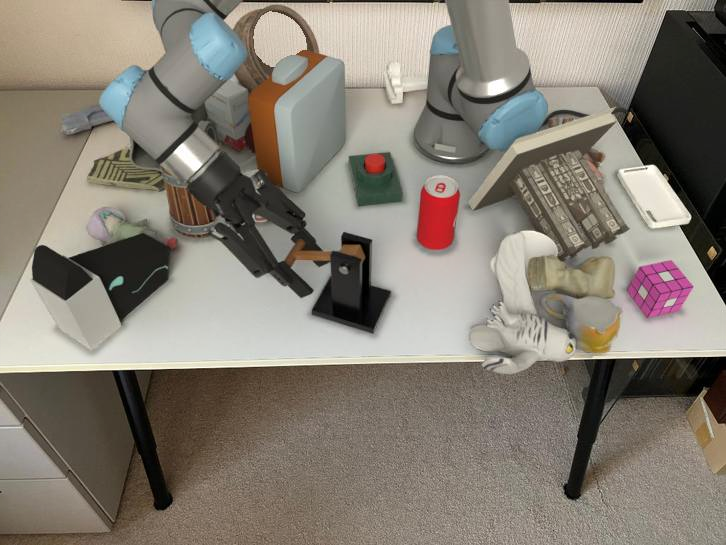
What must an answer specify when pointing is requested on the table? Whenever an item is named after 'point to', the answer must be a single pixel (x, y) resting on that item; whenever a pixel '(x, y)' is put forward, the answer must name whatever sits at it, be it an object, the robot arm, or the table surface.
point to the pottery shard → (124, 173)
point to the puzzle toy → (659, 288)
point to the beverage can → (438, 212)
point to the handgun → (84, 119)
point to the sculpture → (573, 277)
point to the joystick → (401, 82)
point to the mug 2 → (587, 320)
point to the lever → (319, 253)
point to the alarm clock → (299, 118)
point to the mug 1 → (189, 200)
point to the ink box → (230, 113)
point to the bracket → (352, 289)
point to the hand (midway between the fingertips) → (316, 278)
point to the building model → (557, 185)
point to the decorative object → (99, 285)
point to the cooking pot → (253, 67)
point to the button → (375, 163)
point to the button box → (375, 181)
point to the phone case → (654, 197)
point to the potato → (249, 138)
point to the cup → (534, 248)
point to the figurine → (590, 157)
